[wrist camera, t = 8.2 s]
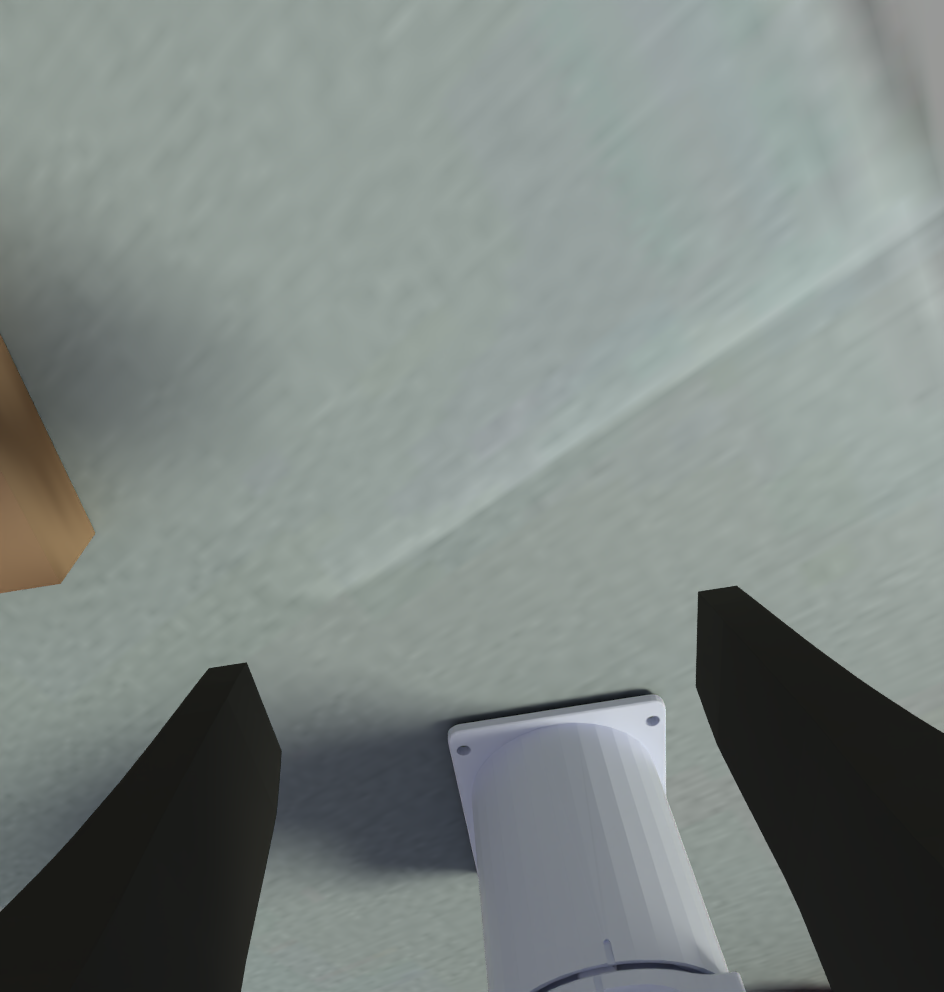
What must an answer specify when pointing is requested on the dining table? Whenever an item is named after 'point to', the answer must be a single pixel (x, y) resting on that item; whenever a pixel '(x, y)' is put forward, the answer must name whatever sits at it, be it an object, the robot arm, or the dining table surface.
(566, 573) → the dining table surface
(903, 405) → the dining table surface
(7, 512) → the walnut block
